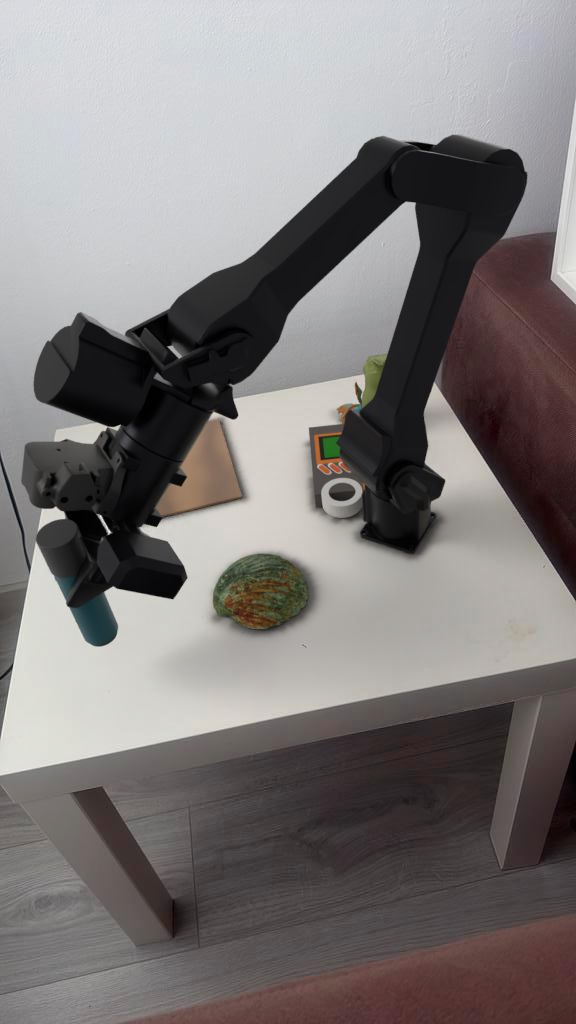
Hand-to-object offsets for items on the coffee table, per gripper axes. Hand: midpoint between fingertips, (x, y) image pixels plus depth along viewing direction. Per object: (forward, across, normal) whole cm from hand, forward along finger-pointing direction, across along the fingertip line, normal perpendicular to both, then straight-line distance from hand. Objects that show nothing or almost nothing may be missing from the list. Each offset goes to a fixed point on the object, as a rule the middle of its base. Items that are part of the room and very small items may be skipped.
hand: (65, 593), depth 63 cm
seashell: (-4, 0, +21) cm, 21 cm away
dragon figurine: (-24, -20, +38) cm, 49 cm away
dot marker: (+4, 0, +6) cm, 7 cm away
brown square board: (-4, -26, +20) cm, 33 cm away
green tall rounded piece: (-23, -17, +40) cm, 49 cm away
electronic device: (-16, -11, +33) cm, 38 cm away
